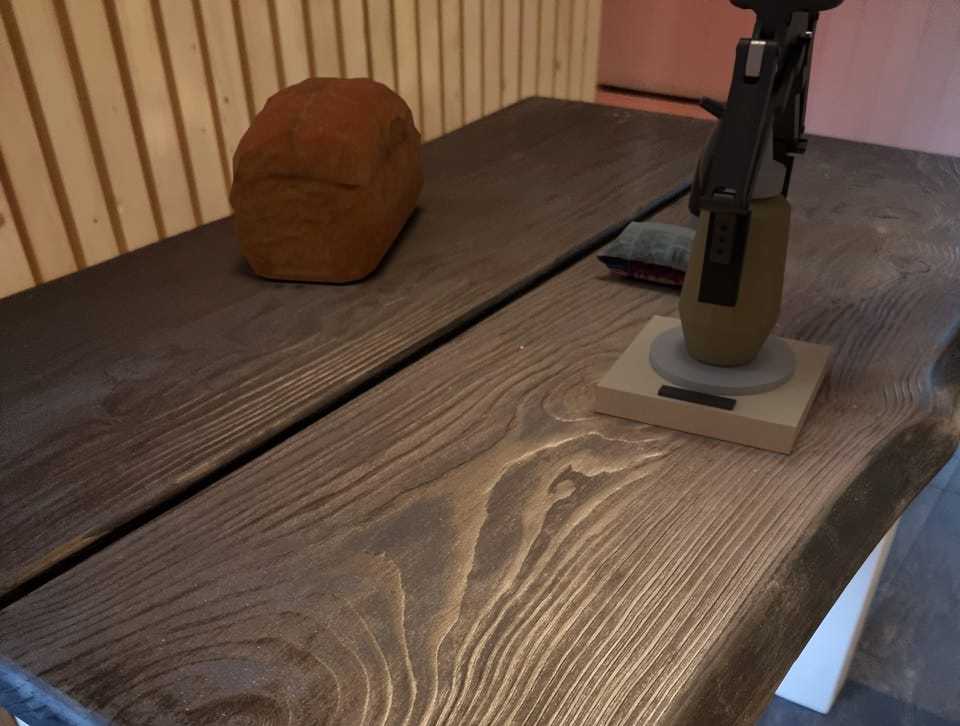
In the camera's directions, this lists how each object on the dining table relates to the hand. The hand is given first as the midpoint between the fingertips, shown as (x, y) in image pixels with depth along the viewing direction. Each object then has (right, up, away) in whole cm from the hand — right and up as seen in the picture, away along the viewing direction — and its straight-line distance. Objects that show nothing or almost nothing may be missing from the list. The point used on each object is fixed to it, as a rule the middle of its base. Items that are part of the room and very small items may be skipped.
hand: (740, 270), depth 72 cm
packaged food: (-1, +10, +25) cm, 27 cm away
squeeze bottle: (0, -5, +5) cm, 7 cm away
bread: (-37, +17, +34) cm, 53 cm away
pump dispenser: (+8, +16, +32) cm, 36 cm away
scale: (0, -8, +6) cm, 10 cm away
